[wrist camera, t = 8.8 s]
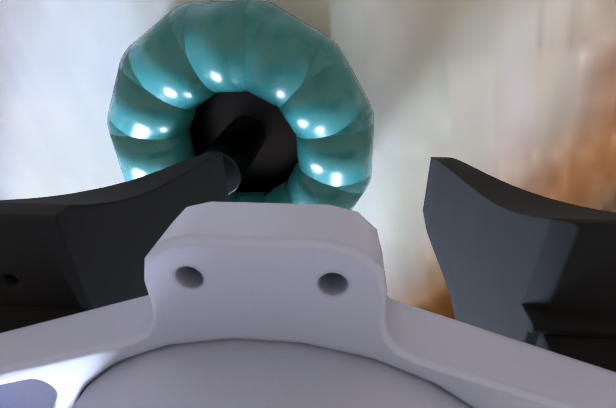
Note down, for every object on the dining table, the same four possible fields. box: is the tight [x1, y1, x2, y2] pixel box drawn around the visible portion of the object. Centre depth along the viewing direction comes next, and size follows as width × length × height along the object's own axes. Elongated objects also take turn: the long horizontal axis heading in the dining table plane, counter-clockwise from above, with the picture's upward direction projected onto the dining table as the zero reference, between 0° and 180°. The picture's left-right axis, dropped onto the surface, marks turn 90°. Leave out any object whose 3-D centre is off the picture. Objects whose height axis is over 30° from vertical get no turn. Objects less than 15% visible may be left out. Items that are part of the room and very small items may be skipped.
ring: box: [108, 0, 374, 210], centre depth 16 cm, size 11×11×3 cm
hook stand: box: [190, 92, 298, 195], centre depth 16 cm, size 8×8×6 cm
